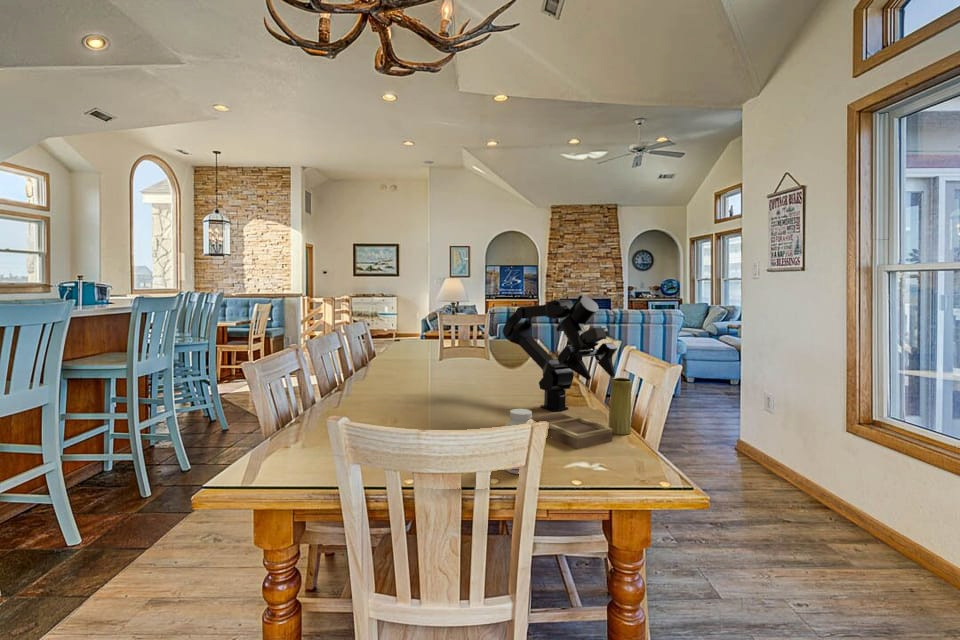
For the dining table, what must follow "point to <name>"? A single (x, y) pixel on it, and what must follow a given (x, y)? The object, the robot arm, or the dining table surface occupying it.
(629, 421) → the vase
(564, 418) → the wooden tray
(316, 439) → the dining table surface
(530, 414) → the supplement bottle
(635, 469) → the dining table surface
